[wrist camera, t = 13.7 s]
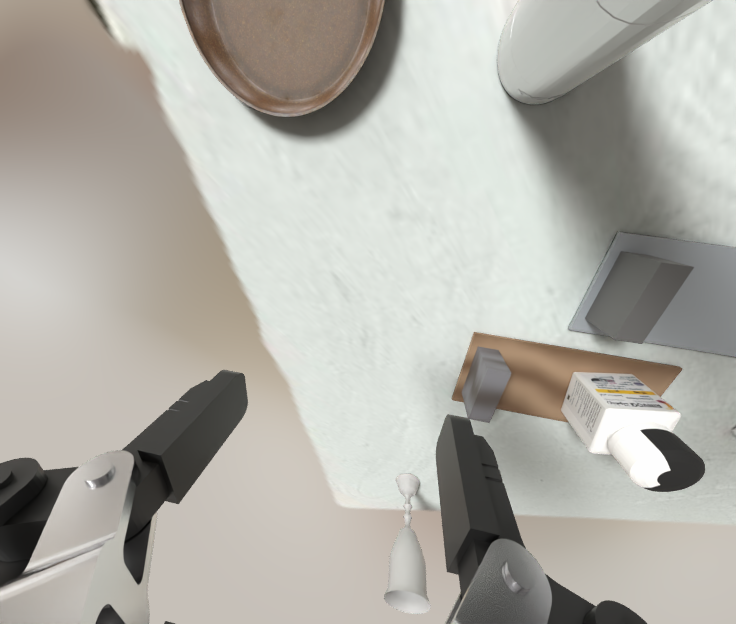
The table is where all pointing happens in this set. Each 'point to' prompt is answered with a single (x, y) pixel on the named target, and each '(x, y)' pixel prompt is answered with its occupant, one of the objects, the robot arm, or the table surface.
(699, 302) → the grey board with block
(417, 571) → the chalice
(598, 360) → the brown board
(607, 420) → the container
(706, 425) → the table surface
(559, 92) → the robot arm
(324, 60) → the plant saucer
